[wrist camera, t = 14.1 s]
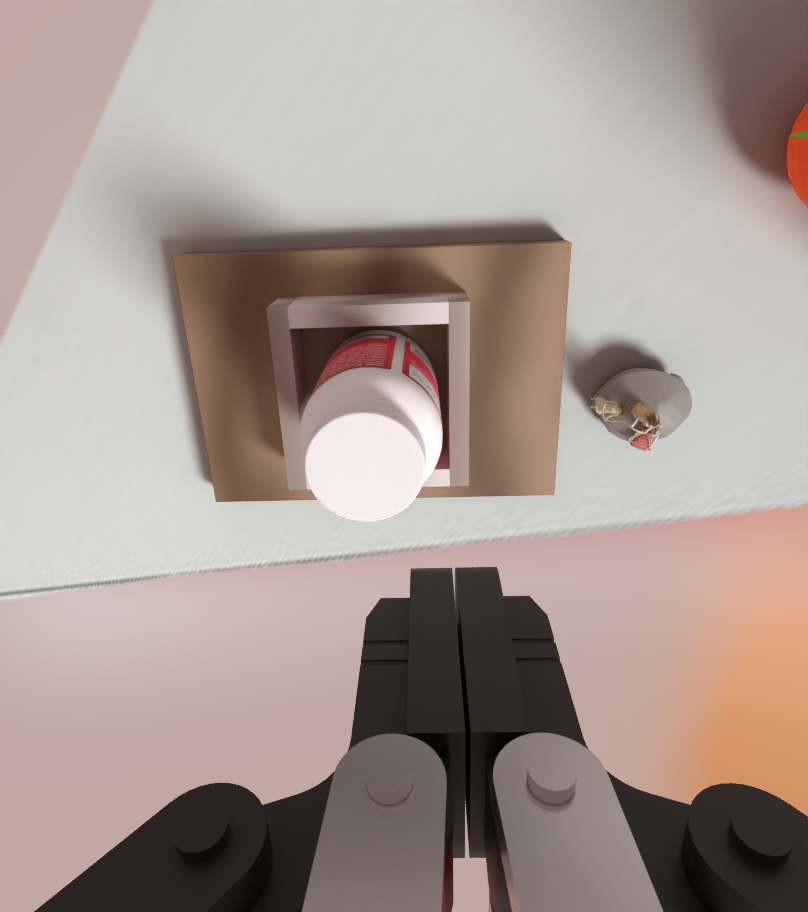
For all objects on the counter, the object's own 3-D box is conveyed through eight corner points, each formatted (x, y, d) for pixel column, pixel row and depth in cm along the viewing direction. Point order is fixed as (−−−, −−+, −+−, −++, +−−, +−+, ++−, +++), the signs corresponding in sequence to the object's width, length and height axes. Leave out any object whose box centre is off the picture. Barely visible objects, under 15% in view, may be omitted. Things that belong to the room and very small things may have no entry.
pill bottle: (308, 410, 34) (261, 504, 24) (349, 308, 32) (316, 365, 22) (410, 452, 35) (406, 560, 25) (457, 356, 33) (473, 432, 23)
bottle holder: (565, 240, 32) (586, 248, 28) (549, 483, 38) (565, 520, 33) (182, 253, 33) (148, 263, 29) (223, 490, 38) (199, 527, 34)
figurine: (690, 359, 34) (719, 397, 29) (677, 433, 36) (702, 481, 31) (591, 357, 35) (602, 394, 30) (583, 429, 37) (593, 475, 32)
